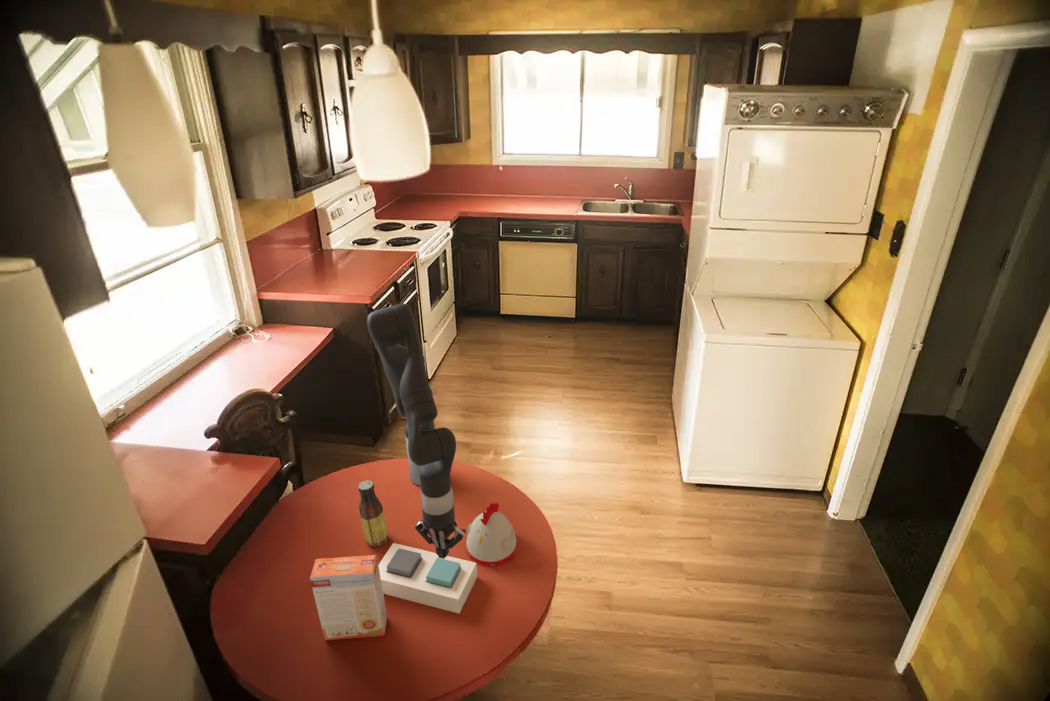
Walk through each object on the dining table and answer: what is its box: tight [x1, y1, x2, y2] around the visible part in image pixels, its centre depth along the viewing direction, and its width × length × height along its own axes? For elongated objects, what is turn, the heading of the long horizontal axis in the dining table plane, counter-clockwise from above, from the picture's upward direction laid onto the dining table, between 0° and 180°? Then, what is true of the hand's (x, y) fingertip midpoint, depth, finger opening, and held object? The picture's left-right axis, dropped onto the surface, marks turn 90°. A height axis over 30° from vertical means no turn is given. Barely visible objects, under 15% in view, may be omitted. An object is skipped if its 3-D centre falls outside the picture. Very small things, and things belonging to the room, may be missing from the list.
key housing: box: [378, 542, 478, 614], centre depth 154 cm, size 12×24×5 cm, turn 73°
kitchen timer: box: [465, 502, 518, 567], centre depth 163 cm, size 14×14×15 cm
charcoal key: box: [387, 548, 422, 578], centre depth 154 cm, size 6×6×4 cm
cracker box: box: [309, 554, 388, 641], centre depth 138 cm, size 14×6×21 cm, turn 94°
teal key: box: [426, 558, 461, 589], centre depth 151 cm, size 6×6×4 cm
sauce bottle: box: [357, 479, 389, 548], centre depth 164 cm, size 7×6×20 cm
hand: (442, 555), depth 148 cm, fingers closed
